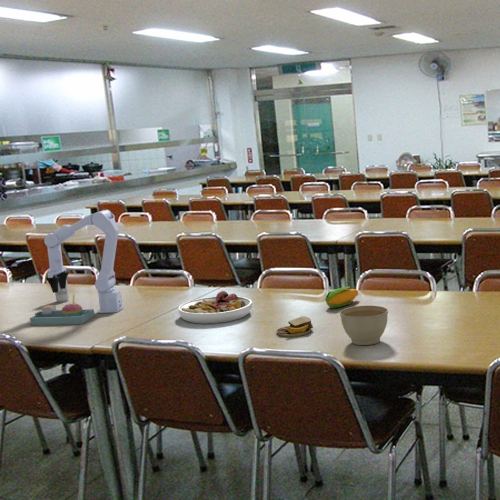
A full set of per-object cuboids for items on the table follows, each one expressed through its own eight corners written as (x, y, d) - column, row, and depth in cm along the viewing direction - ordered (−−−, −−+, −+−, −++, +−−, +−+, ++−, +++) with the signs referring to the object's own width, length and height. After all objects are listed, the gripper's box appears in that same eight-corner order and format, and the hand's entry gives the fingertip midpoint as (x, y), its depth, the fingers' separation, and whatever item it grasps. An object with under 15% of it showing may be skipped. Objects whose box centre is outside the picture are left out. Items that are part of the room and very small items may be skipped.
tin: (57, 319, 334) (55, 304, 333) (52, 322, 329) (51, 307, 328) (47, 319, 334) (46, 305, 333) (43, 322, 330) (41, 307, 329)
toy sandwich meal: (273, 331, 289) (272, 318, 288) (308, 326, 292) (307, 314, 291) (281, 339, 277) (280, 326, 276) (317, 334, 280) (316, 322, 279)
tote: (94, 315, 334) (93, 307, 334) (82, 323, 322) (81, 315, 321) (45, 317, 339) (44, 308, 339) (30, 325, 327) (29, 316, 326)
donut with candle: (86, 317, 333) (83, 290, 331) (77, 322, 324) (74, 294, 323) (68, 317, 335) (65, 290, 333) (58, 323, 327) (55, 295, 325)
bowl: (244, 325, 301) (242, 305, 300) (169, 327, 307) (168, 307, 306) (258, 306, 330) (257, 288, 329) (190, 308, 336) (189, 290, 335)
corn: (320, 290, 314) (349, 281, 328) (320, 309, 316) (349, 298, 330) (334, 293, 309) (364, 283, 323) (335, 312, 311) (364, 301, 325)
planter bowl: (384, 333, 274) (382, 303, 272) (394, 346, 258) (392, 314, 256) (338, 337, 273) (336, 307, 272) (345, 350, 257) (343, 318, 256)
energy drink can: (70, 299, 373) (67, 268, 370) (66, 302, 367) (63, 271, 364) (58, 300, 373) (55, 269, 371) (54, 302, 367) (50, 271, 365)
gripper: (54, 257, 350) (58, 287, 353) (39, 263, 336) (43, 294, 339) (69, 257, 349) (72, 286, 351) (54, 263, 335) (58, 294, 337)
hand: (59, 290), depth 345 cm, fingers open, 7 cm apart
